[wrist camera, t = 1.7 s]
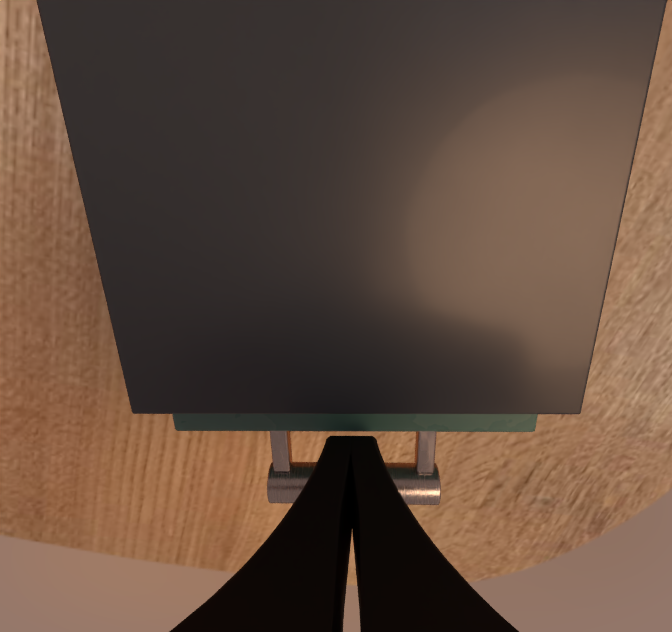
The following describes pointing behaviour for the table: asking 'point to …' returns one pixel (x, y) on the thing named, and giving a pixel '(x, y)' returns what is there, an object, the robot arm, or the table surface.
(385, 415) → the drawer
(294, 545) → the robot arm
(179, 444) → the table surface
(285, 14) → the dark grey storage box
